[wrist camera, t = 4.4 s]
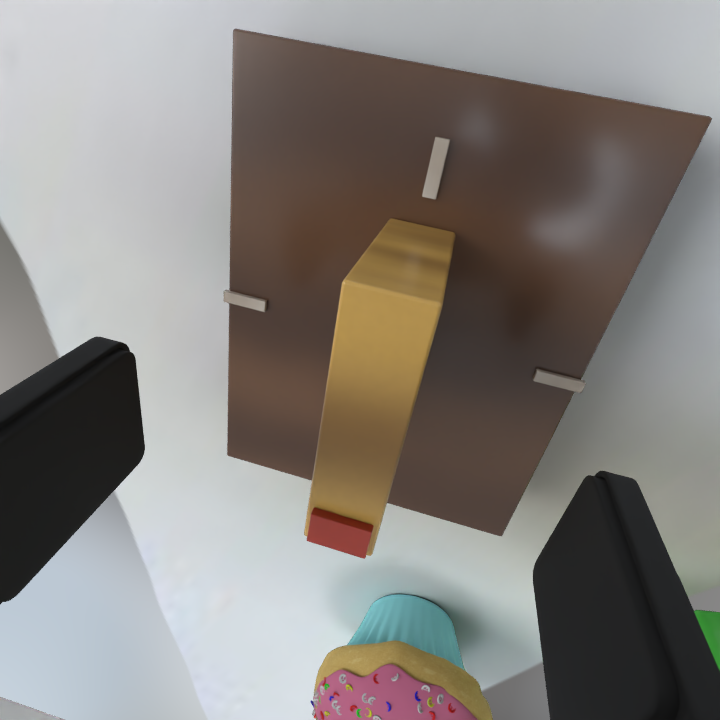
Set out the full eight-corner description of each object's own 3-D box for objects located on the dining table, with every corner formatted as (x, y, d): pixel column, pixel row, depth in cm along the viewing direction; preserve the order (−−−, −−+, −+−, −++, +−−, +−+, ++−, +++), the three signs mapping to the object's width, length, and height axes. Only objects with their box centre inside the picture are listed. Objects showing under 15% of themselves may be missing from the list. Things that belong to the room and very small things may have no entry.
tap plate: (275, 40, 13) (224, 26, 11) (669, 114, 12) (722, 118, 10) (255, 411, 21) (222, 457, 18) (501, 481, 20) (504, 542, 17)
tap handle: (389, 217, 12) (337, 284, 8) (456, 232, 12) (442, 310, 8) (350, 419, 16) (299, 544, 11) (400, 433, 16) (369, 566, 11)
